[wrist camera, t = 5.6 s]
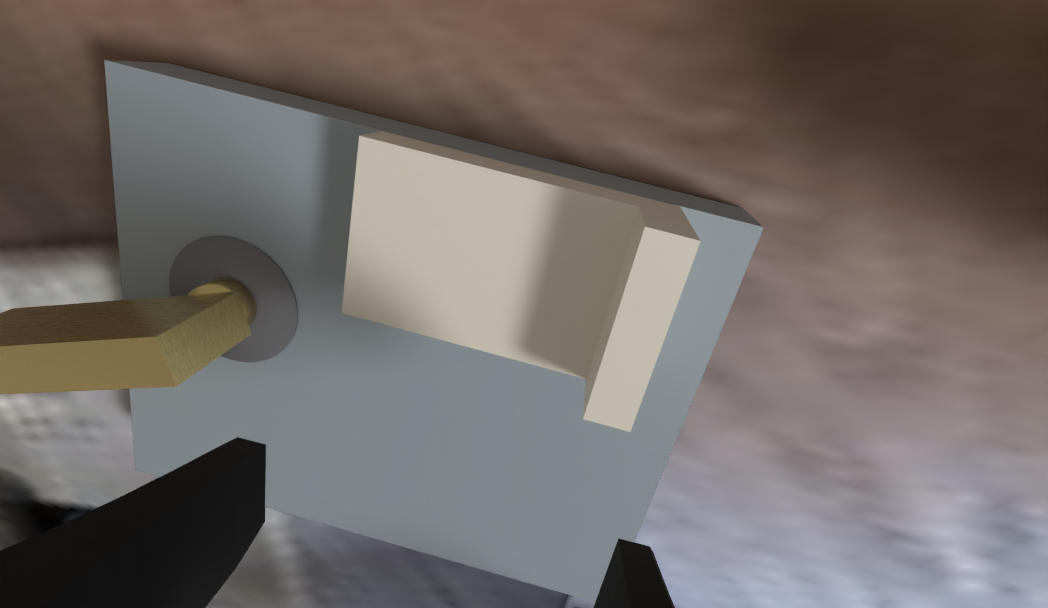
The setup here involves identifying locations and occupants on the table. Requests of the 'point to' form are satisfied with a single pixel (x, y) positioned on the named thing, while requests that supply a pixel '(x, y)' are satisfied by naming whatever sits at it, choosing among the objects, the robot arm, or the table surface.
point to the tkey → (122, 340)
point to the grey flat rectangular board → (381, 342)
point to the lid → (517, 265)
